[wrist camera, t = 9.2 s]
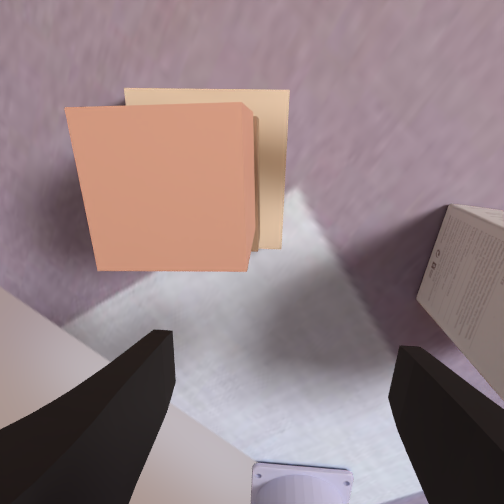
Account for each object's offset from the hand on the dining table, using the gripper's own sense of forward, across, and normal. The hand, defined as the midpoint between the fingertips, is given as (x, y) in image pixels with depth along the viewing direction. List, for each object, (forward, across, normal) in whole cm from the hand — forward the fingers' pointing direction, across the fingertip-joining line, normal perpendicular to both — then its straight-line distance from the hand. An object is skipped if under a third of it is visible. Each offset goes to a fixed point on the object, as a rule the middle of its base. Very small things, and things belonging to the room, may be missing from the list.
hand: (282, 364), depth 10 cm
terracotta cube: (+6, +4, -5) cm, 9 cm away
